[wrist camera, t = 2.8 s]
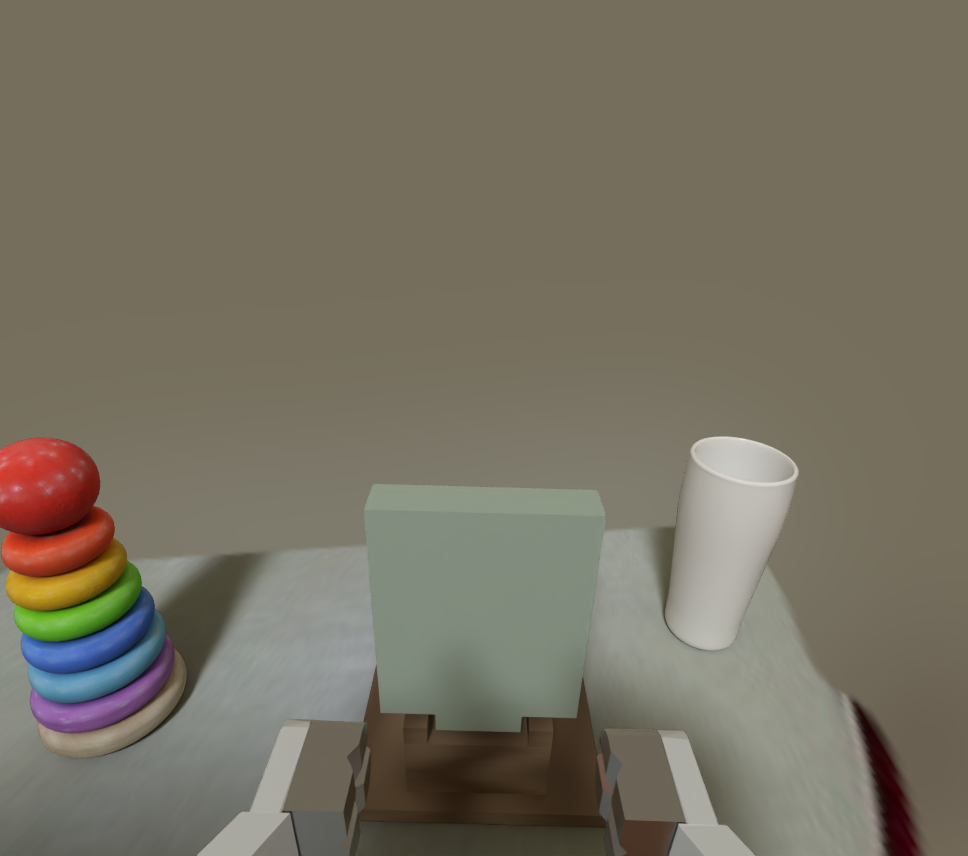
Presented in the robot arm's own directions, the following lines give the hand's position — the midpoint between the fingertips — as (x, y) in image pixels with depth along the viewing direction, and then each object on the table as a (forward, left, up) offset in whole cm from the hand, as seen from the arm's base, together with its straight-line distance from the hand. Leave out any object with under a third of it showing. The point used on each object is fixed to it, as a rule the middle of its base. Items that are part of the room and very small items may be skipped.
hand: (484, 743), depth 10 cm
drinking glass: (+17, +25, -22) cm, 38 cm away
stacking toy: (-23, +17, -22) cm, 36 cm away
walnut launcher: (0, +21, -22) cm, 30 cm away
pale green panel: (0, +13, -17) cm, 21 cm away
